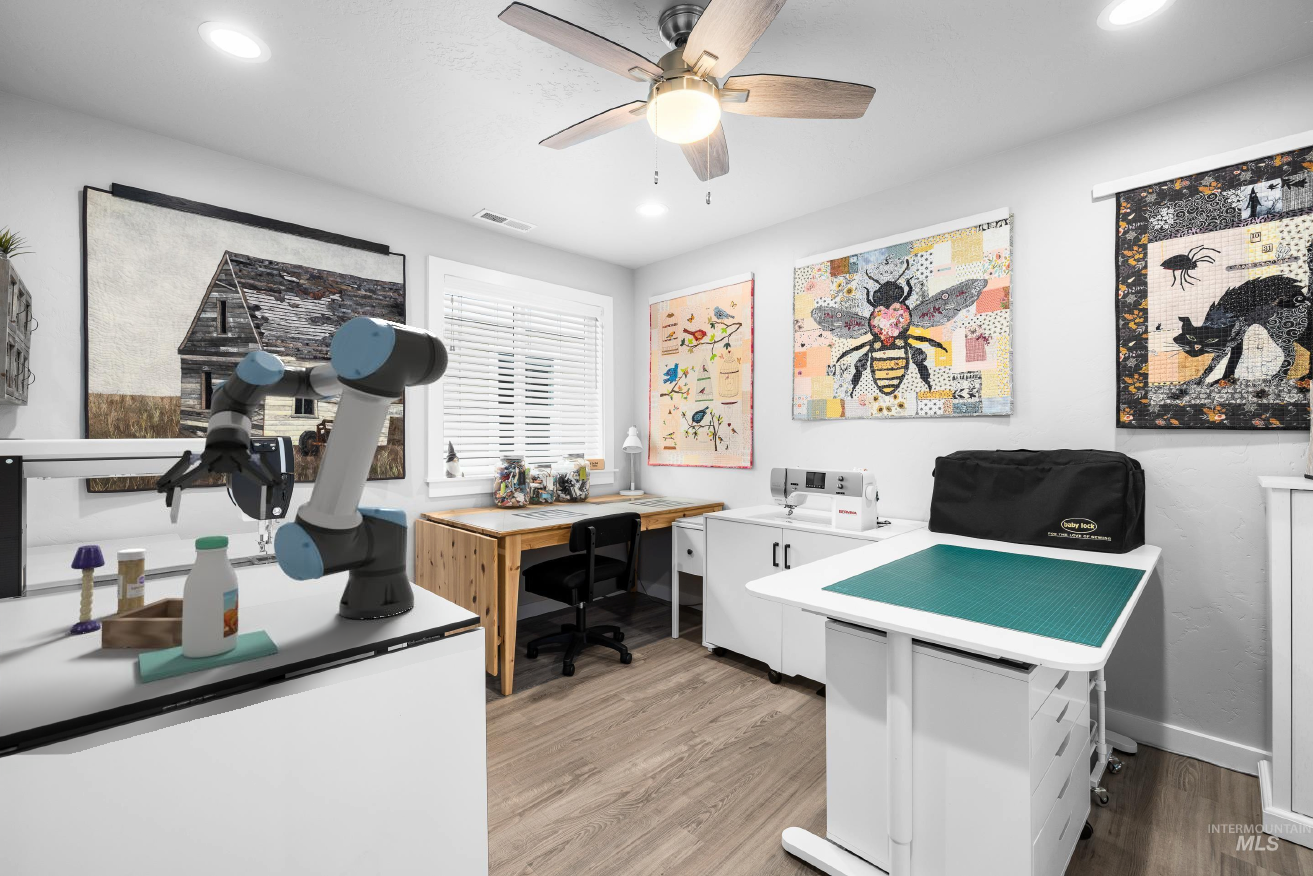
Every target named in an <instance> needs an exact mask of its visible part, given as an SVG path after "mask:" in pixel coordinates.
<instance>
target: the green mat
mask: <svg viewBox="0 0 1313 876" xmlns="http://www.w3.org/2000/svg"><path fill="white" fill-rule="evenodd" d="M278 648H279V647H278V646H277V645H276V643H275V642H274V640H273V639H272V638H271V637H270V635H268V633H267V632H266V630H265V629H263V630H258V631H253V632H248V633H244V634H238V643H237V646H236V647H235V648H234V649H232V650H230V651H228V652H225V653H222V654H218V655H214V656H209V657H201V658H189V657H185V656H184V655H183V653H182V646H180V647H175V648H163V649H160V650H159V649H158V650H154V651H150V652H145V653H139V654H138V663H139V664H138V665H139V672H140V679H141V684H143V683H147V682H148V683H149V682H152V681H157V680H162V679H166V678H170V677H175V676H179V675H184V674H188V673H193V672H197V671H202V670H207V669H211V668H216V667H220V666H225V665H229V664H235V663H238V662H239V663H240V662H243V661H244V662H245V661H247V660H252V659H256V658H262V657H266V656H269V654H271V655H273V654H272V653H275V654H277V653H278ZM276 652H277V653H276ZM265 655H266V656H265Z"/></svg>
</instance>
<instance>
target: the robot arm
mask: <svg viewBox="0 0 1313 876" xmlns="http://www.w3.org/2000/svg"><path fill="white" fill-rule="evenodd" d="M448 355H449V354H448V351H447V349H446V346H445V344H444V342H442V340H441V339H440V338H439V337H438V336H437V335H436V334H434V333H432V332H430V331H428V330H426V329H423V328H418V327H413V326H409V325H404V324H402V323H397V322H393V321H389V320H385V319H382V318H375V317H368V316H357V317H354V318H353V317H352V319H349V320H348V321H346V322H344V323H343V324H342V325H340V326H339V328H338V329H337V330H336V332H335V334H334V336H333V337H332V340H331V343H330V346H329V357H330V358H331V359H330V362H328V363H324V364H319V365H314V366H308V367H307V366H298V365H290V364H284V363H283V362H282V360H281V359H280V358H279V357H278V356H276V355H275V354H270V353H268V351H264V350H254V351H250V352H249V353H247V355H246V356H245V357H244V358H243V359H242V360H241V361H240V362H239V363H238V364H237V366H236V368H235V369H234V372H233V373H232V374H231V376H230V377H229V378H228V379H226V380H223V381H221V382H218V383H217V384H216V385H215V387H214V390H213V393H212V394H211V397H210V398H211V400H210V402H211V403H210V404H211V405H210V412H209V418H208V424H207V432H206V438H205V444H204V450H203V452H202V453H193V452H192V450H191V449H187V450H184V451H183V453H182V456H181V458H180V459H179V460H178V461H176V463H175V464H174V465H173V466H172V467H170V469H168V470H167V471H166V472H165V473H164V474H163V475H162V476H161V477H160V478H159V479H158V480H157V481H156V482H155V487H156V492H157V493H158V494H164V493H165V494H166V495H165V500H164V501H165V506H166V507H167V508H170V512H169V517H170V522H171V525H172V524H173V525H175V524H177V523H178V519H179V512H180V507H181V500H182V491H184V490H186V489H188V488H189V487H190V486H192V485H193V484H195V483H197V482H198V481H200V480H201V479H202V478H204V477H208V476H210V475H212V474H213V473H215V475H219V474H235V473H239V474H240V475H241V476H243V477H246V478H247V479H248V480H250V481H251V482H252V483H253V484H255V485H256V486H258V487H259V488H261V492H260V493H261V496H260V497H261V498H260V509H259V510H260V512H259V513H260V514H259V515H260V517H259V518H260V520H265V519H266V511H267V509H266V508H267V505H271V504H272V503H274V500H273V499H274V493H275V492H276V491H279V492H280V491H283V490H284V489H285V487H284V485H285V482H284V479H283V477H282V476H281V475H280V473H279V472H278V471H277V470H276V469H275V466H273V464H272V463H271V462H270V461H269V459H268V455H267V452H266V450H261V451H259V453H257V454H255V453H253V454H252V453H250V446H251V433H252V425H253V424H252V423H253V414H254V412H255V410H256V408H257V407H258V406H259V405H260V404H261V403H262V401H264V399H265V398H266V397H275V398H276V397H277V398H290V399H292V398H293V399H294V398H295V399H307V400H314V401H328V400H333V399H335V398H336V396H339V395H341V396H340V399H339V402H338V405H337V408H336V412H335V414H334V415H335V416H334V418H333V422H332V425H331V429H330V433H329V435H328V439H327V442H326V444H325V449H324V452H323V456H322V458H321V462H320V465H319V468H318V472H317V476H316V477H315V478H316V479H315V481H314V485H313V489H312V492H311V495H310V498H309V501H307V502H304V503H302V504H300V506H299V507H298V508H297V512H296V515H295V518H294V521H293V522H291V521H288V522H286V523H284V524H282V525H281V526H279V527H278V528H277V530H276V532H275V534H274V538H273V549H274V555H275V558H276V560H277V563H278V566H279V567H280V570H282V571H283V573H284V574H285V575H286V576H287V577H289V578H290V579H292V580H294V581H303V582H304V581H309V580H318V579H320V578H323V577H327V576H331V575H335V574H339V573H343V572H348V578H347V581H346V584H345V587H344V589H343V592H342V595H341V598H340V601H339V604H338V605H339V609H338V611H339V613H340V614H339V613H338V614H339V616H341V617H342V616H344V617H343V618H345V617H348V618H347V619H350V618H374V617H380V616H388V615H393V614H396V613H399V612H402V611H405V610H408V609H409V608H411V607H412V606H413V605H414V606H415V594H414V591H413V588H412V585H411V583H410V580H409V577H408V574H407V552H408V551H407V549H408V548H407V546H408V545H407V543H408V542H407V541H408V528H409V526H408V524H407V522H408V521H407V513H406V512H405V510H403V509H401V508H393V507H392V508H391V507H381V506H359V505H360V502H361V498H362V495H363V492H364V489H365V485H366V483H367V480H368V476H369V473H370V469H371V466H372V464H373V461H374V456H375V455H376V451H377V449H378V448H377V447H378V445H379V441H380V439H381V434H382V431H383V428H384V426H385V423H386V419H387V416H388V413H389V410H390V406H391V404H392V403H393V402H396V401H398V400H400V399H401V398H402V396H403V393H404V390H405V387H407V388H409V387H410V388H411V387H416V386H419V387H420V386H428V385H432V384H433V383H435V382H437V381H439V380H440V378H442V377H443V375H444V374H445V373H446V370H447V367H448V363H449V356H448ZM198 461H200V462H199V463H198V465H197V466H195V467H193V468H192V469H191V470H189V469H190V467H191V466H194V465H195V464H196V463H197V462H198ZM251 462H255V463H256V464H257V465H258V466H260V468H261V470H262V472H264V474H265V475H264V474H262V473H261V472H260V471H258V470H257V469H256V468H255V467H254V466H252V465H251ZM188 470H189V471H188ZM414 606H413V607H414ZM413 607H412V608H413ZM412 608H411V609H412ZM408 611H409V610H408ZM393 616H394V615H393Z"/></svg>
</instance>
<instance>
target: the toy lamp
mask: <svg viewBox="0 0 1313 876" xmlns="http://www.w3.org/2000/svg"><path fill="white" fill-rule="evenodd" d="M104 566H105V559H104V556H103V553H102V550H101V547H100V545H95V544H94V545H93V544H89V545H82V546H79V547H78V549H77V550H76V552H75V555H74V557H73V560H72V562H71V567H70V568H71V569H73V570H81V574H82V577H81V582H82V583H81V586H80V587H81V593H80V598H81V599H80V603H79V604H80V607H79V614H80V615H79V618H78V620H79V621H77V622H76V623H74V624H72V627H70V630H69V633H70V632H71V633H70V634H72V633H82V634H84V633H83V632H88V633H91V632H90V631H92V632H96V631H98V630H100V629H102V626H101V624H100V622H99V621H97V620H95V619H92V611H93V606H92V604H93V601H94V599H93V598H92V597H93V596H94V590H93V589H94V580H95V576H94V573H95V569H96V568H102V567H104ZM95 630H96V631H95Z"/></svg>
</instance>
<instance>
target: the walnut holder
mask: <svg viewBox="0 0 1313 876" xmlns="http://www.w3.org/2000/svg"><path fill="white" fill-rule="evenodd" d="M182 620H183V597H182V598H181V597H165V598H163V599H162V598H161V599H159V600H157V601H153V602H152V603H148V604H144V606H142V607H139V608H136V609H133V610H130V611H128V612H125V613H122V614H119V613H118V614H116V615H114V616H113V615H112V616H111V617H108V618H104V619H103V620H101V647H130V648H129V649H169V648H171V647H172V648H175V647H180V646H182ZM101 647H100V648H101Z"/></svg>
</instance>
